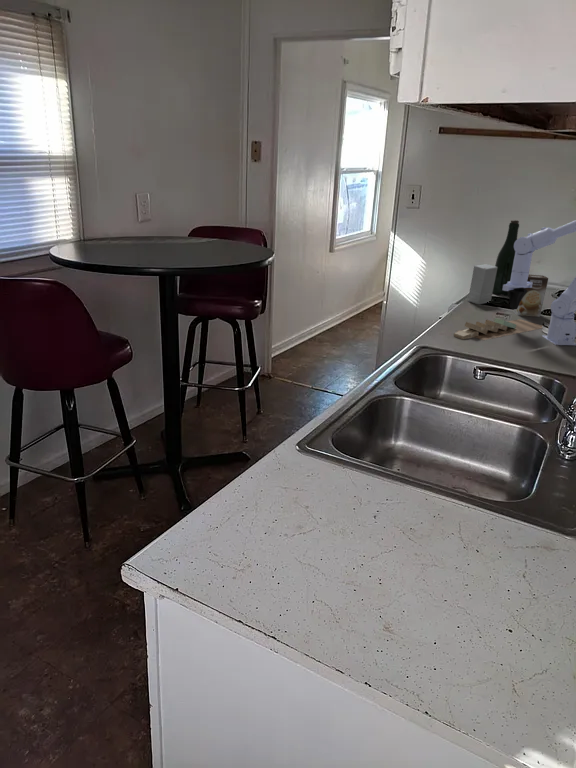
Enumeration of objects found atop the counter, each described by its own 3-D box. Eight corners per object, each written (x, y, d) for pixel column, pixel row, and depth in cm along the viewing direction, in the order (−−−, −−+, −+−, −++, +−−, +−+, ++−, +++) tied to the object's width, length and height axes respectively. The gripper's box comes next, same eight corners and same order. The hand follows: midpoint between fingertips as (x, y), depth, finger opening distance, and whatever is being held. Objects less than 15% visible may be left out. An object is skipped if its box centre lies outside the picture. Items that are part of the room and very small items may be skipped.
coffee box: (516, 316, 238) (524, 276, 232) (512, 312, 244) (520, 273, 238) (540, 318, 238) (548, 278, 232) (535, 314, 244) (543, 275, 238)
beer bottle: (518, 295, 275) (532, 221, 263) (497, 295, 272) (511, 221, 260) (505, 290, 284) (518, 219, 272) (485, 290, 282) (498, 218, 270)
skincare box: (478, 299, 264) (484, 263, 258) (492, 303, 259) (498, 266, 253) (466, 301, 259) (472, 264, 254) (480, 305, 254) (486, 267, 248)
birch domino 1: (478, 335, 207) (462, 340, 203) (469, 332, 210) (453, 337, 206) (478, 331, 207) (463, 336, 203) (469, 328, 210) (454, 333, 206)
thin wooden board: (483, 341, 203) (483, 340, 203) (455, 332, 213) (455, 331, 212) (547, 328, 223) (547, 327, 223) (519, 320, 233) (519, 319, 232)
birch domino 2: (486, 334, 210) (473, 329, 205) (476, 331, 213) (464, 326, 208) (487, 330, 210) (475, 324, 204) (478, 327, 213) (466, 321, 208)
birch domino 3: (496, 332, 213) (484, 328, 208) (487, 329, 216) (475, 325, 211) (498, 328, 213) (485, 324, 208) (489, 325, 216) (476, 321, 211)
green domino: (514, 328, 219) (503, 324, 214) (505, 326, 222) (493, 322, 217) (516, 324, 218) (504, 320, 213) (507, 322, 221) (495, 317, 216)
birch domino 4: (505, 330, 216) (493, 326, 211) (496, 327, 219) (484, 323, 214) (507, 326, 216) (495, 322, 211) (498, 323, 219) (486, 319, 214)
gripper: (523, 267, 219) (516, 304, 224) (498, 270, 212) (491, 308, 216) (540, 271, 214) (533, 308, 219) (515, 274, 206) (508, 312, 211)
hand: (513, 308), depth 217 cm, fingers closed
